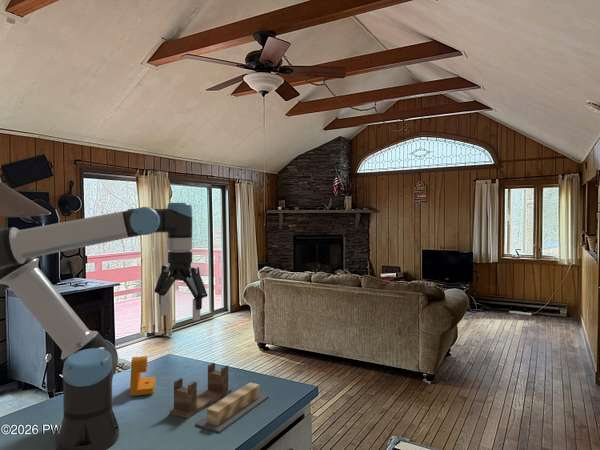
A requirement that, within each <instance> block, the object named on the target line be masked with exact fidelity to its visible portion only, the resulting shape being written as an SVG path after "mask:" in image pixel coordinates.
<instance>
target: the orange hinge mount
mask: <svg viewBox="0 0 600 450" xmlns="http://www.w3.org/2000/svg"><path fill="white" fill-rule="evenodd" d="M130 363H131V365H130V381H129V382H130V383H129V386H130V387H129V393H130V394H129V396H131V397H132V396H143V395H151V394H154V392H155V389H156V383H157V382H156V379H157V378H156V376H145V377H142V373H147V371H148V355H144V356H142V355H141V356H132V358H131V362H130Z"/></svg>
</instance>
